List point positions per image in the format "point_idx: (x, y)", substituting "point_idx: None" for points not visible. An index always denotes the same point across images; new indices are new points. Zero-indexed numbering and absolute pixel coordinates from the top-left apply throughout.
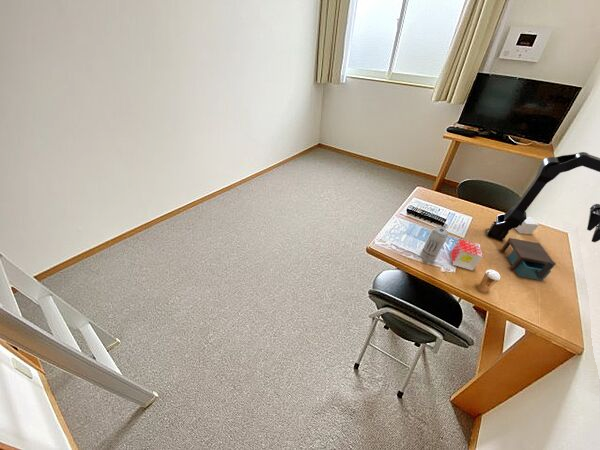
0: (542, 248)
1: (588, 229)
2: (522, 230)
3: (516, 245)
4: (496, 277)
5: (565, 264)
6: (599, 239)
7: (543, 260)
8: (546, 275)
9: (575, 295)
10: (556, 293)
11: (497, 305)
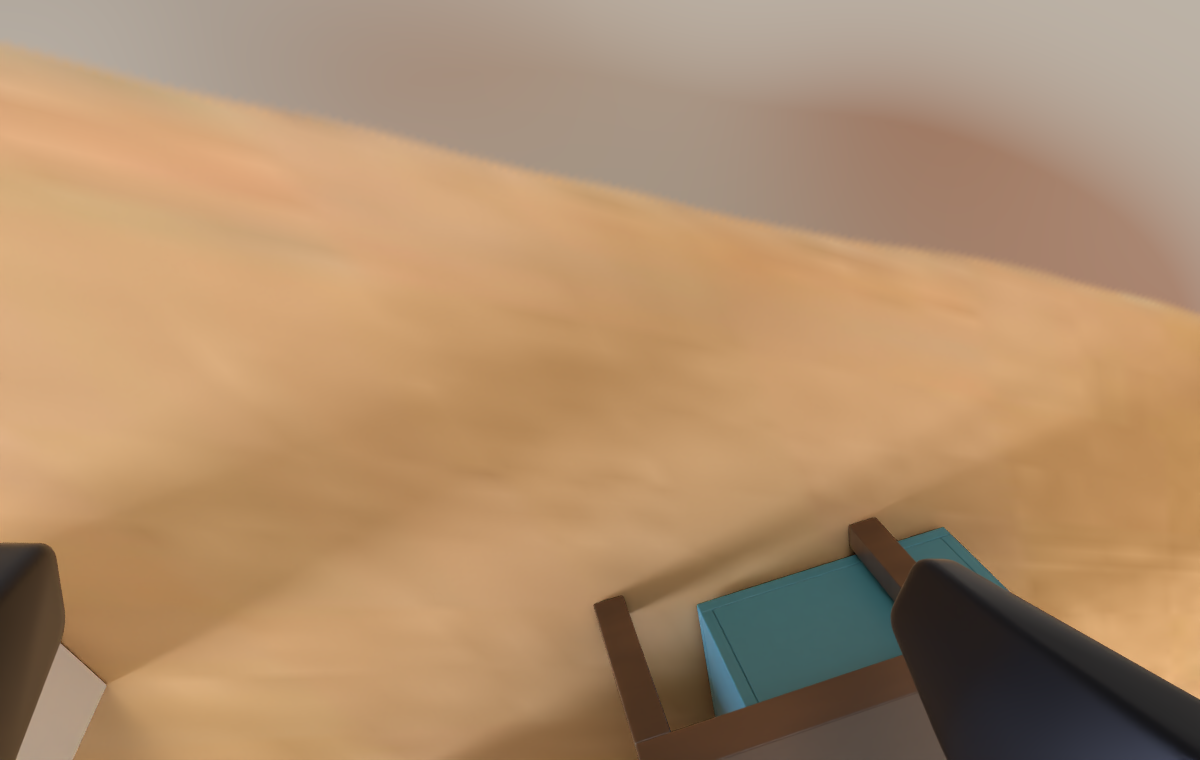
0: (759, 756)
1: (46, 633)
2: (76, 723)
3: None
4: None
5: (549, 243)
6: (1135, 689)
7: None
8: (991, 579)
9: (1069, 281)
10: (1064, 436)
11: None
